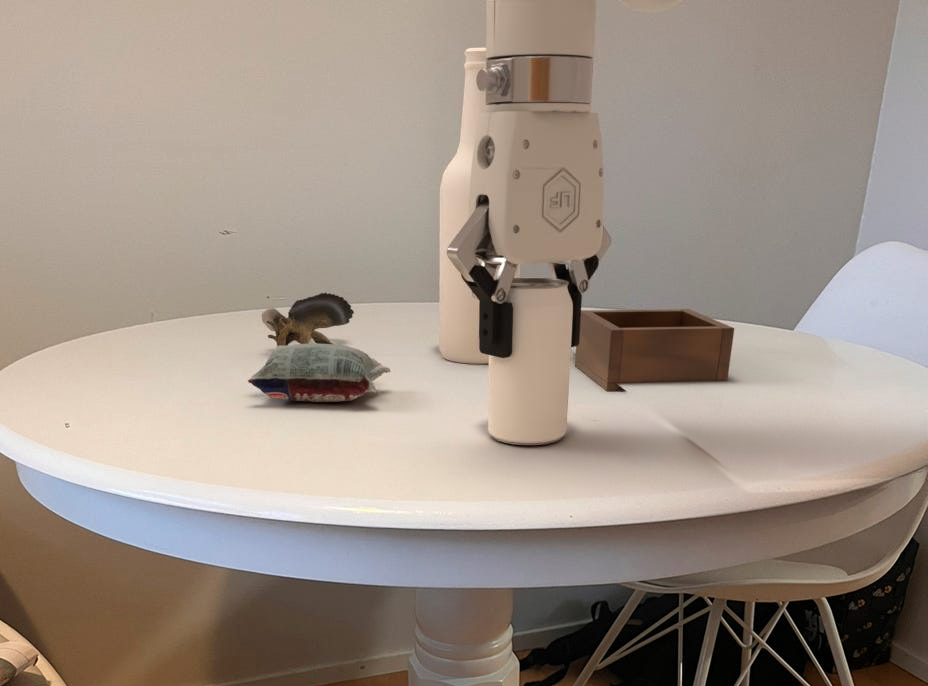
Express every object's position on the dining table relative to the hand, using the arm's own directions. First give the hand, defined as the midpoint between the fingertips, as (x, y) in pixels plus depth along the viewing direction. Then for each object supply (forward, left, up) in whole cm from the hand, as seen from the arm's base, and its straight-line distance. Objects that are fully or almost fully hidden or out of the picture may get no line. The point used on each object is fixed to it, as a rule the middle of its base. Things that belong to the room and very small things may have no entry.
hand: (529, 347), depth 77 cm
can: (0, 0, -7) cm, 7 cm away
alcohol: (-2, -34, -7) cm, 35 cm away
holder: (-18, -22, -7) cm, 29 cm away
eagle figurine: (+17, -38, -7) cm, 42 cm away
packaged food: (+16, -16, -7) cm, 24 cm away
